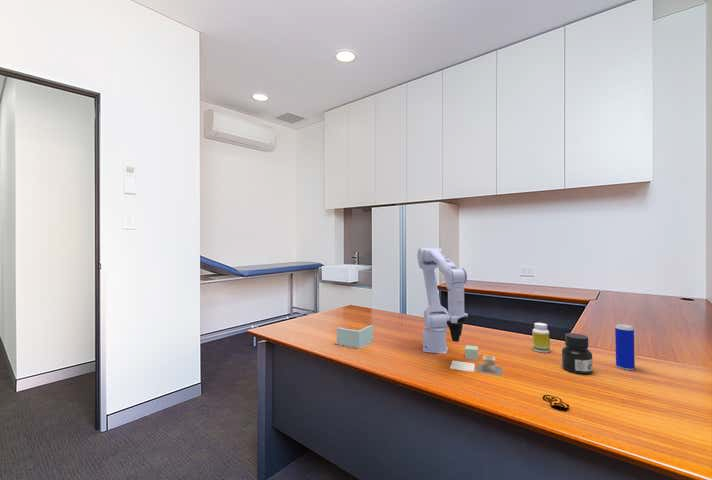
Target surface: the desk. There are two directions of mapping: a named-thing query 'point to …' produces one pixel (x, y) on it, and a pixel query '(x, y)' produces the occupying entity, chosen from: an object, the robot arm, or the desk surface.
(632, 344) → the beverage can
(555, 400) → the corroded twin loop
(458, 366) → the off-white mat
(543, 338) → the pill bottle
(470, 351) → the sage green cube
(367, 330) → the right angle wall
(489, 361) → the grey cube
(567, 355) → the ink bottle
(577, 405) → the desk surface
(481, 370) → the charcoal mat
